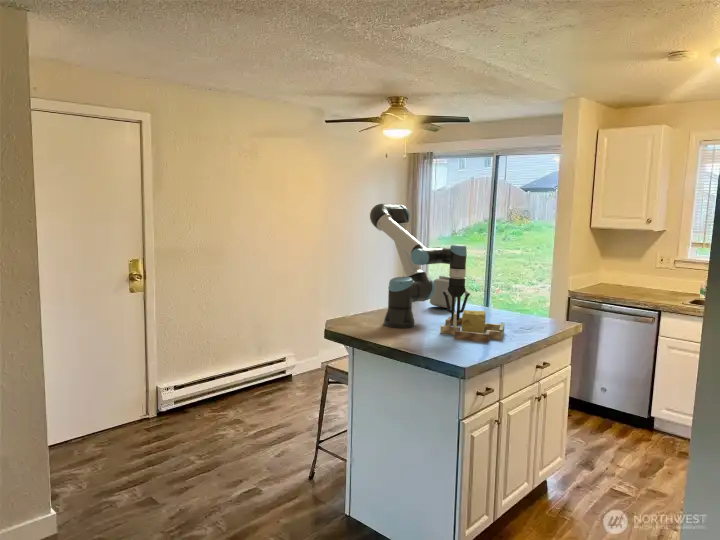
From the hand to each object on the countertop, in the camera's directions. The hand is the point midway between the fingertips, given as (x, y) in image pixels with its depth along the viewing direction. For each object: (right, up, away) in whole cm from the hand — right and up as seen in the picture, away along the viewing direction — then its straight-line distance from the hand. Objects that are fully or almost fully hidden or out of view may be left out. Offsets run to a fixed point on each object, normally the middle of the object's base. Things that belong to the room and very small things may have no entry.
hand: (455, 326), depth 255 cm
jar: (+4, +5, +57) cm, 57 cm away
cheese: (+8, -3, -2) cm, 9 cm away
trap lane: (+8, -3, -2) cm, 9 cm away
